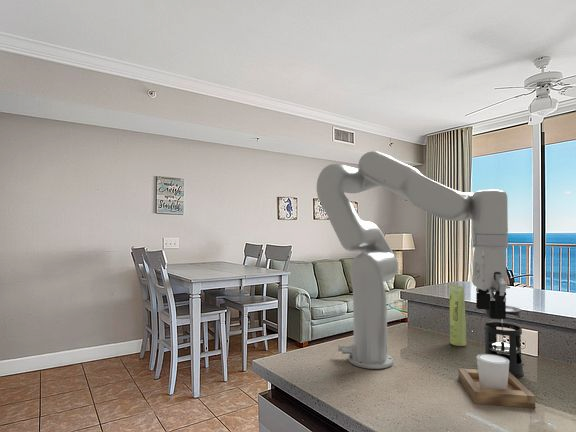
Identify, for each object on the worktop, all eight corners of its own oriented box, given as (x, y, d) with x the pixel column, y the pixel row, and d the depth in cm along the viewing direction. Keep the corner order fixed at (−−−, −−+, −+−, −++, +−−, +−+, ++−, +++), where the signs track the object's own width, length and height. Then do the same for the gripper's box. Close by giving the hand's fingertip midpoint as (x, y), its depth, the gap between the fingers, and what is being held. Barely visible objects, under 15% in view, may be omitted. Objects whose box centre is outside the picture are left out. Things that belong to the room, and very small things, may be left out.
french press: (534, 378, 95) (531, 288, 96) (498, 379, 95) (496, 288, 96) (505, 362, 107) (504, 281, 108) (473, 362, 107) (472, 282, 108)
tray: (474, 403, 82) (474, 391, 82) (458, 378, 96) (458, 368, 96) (535, 408, 80) (535, 396, 80) (509, 381, 93) (509, 371, 94)
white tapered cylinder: (496, 397, 83) (495, 365, 83) (470, 385, 89) (469, 355, 89) (517, 391, 85) (516, 360, 86) (490, 380, 92) (490, 351, 92)
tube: (446, 344, 124) (445, 285, 124) (450, 340, 128) (449, 283, 128) (464, 347, 120) (463, 286, 121) (468, 343, 124) (467, 285, 125)
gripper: (463, 240, 98) (463, 305, 98) (484, 243, 81) (484, 322, 81) (494, 240, 97) (494, 306, 96) (522, 243, 80) (523, 323, 79)
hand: (490, 313), depth 89 cm, fingers open, 9 cm apart
